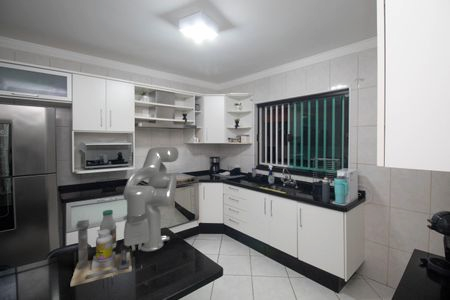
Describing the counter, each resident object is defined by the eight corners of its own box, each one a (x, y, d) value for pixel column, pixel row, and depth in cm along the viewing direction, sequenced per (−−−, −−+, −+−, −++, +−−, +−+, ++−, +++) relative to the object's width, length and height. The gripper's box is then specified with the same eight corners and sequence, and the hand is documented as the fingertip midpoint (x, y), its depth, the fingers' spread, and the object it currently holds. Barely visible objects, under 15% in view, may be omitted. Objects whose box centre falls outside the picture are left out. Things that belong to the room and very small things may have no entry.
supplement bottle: (92, 259, 94) (92, 232, 93) (107, 252, 100) (106, 227, 99) (101, 264, 91) (101, 235, 90) (115, 256, 97) (115, 230, 96)
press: (129, 254, 104) (129, 212, 103) (131, 270, 91) (131, 223, 90) (77, 265, 94) (76, 219, 93) (70, 286, 81) (69, 232, 80)
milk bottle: (96, 249, 108) (95, 212, 107) (109, 242, 115) (109, 207, 115) (106, 252, 105) (106, 214, 104) (119, 245, 113) (119, 209, 112)
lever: (128, 263, 93) (128, 240, 92) (129, 267, 90) (129, 243, 90) (118, 265, 91) (118, 242, 91) (118, 269, 88) (118, 245, 88)
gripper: (117, 223, 85) (117, 266, 86) (155, 217, 92) (155, 257, 93) (117, 217, 92) (117, 257, 92) (152, 212, 99) (152, 249, 99)
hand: (136, 257), depth 93 cm, fingers closed
